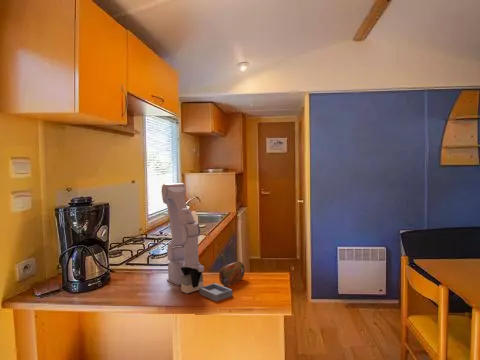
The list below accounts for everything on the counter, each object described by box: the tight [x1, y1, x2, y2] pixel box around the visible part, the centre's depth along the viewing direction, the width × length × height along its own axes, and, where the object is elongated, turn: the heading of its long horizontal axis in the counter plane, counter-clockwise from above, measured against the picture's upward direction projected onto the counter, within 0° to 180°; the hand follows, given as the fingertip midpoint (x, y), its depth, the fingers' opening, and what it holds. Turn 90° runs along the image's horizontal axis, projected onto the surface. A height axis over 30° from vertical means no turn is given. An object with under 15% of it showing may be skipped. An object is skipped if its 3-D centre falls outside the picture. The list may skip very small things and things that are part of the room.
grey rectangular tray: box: [198, 282, 233, 302], centre depth 138 cm, size 11×8×2 cm
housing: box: [180, 273, 204, 294], centre depth 143 cm, size 4×8×6 cm, turn 131°
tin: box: [218, 261, 246, 287], centre depth 152 cm, size 15×3×8 cm, turn 143°
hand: (192, 285), depth 143 cm, fingers closed on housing, 4 cm apart
